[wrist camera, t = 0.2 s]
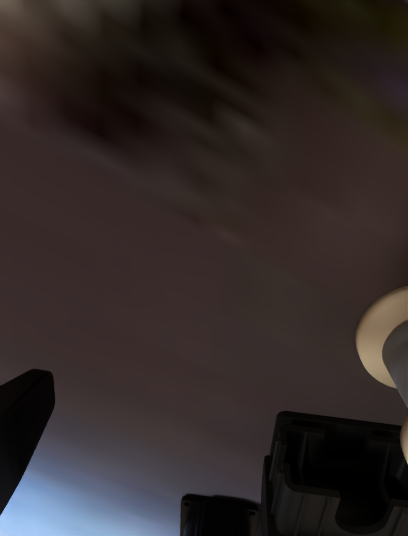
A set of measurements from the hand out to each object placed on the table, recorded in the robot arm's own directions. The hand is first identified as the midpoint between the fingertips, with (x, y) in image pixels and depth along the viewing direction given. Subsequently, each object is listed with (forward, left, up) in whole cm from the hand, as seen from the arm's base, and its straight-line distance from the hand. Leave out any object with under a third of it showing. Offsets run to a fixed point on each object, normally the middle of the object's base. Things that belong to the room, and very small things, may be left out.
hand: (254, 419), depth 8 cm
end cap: (-17, -8, -15) cm, 24 cm away
